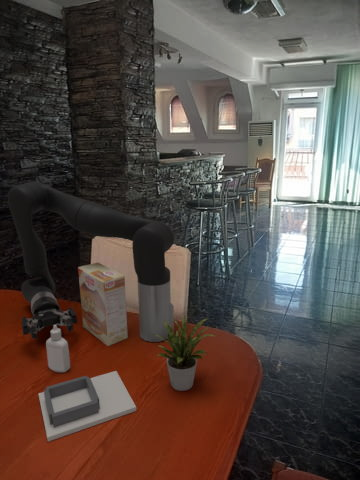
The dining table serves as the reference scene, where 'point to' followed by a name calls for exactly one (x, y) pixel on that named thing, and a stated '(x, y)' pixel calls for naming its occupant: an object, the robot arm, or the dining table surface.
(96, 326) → the coffeecake box
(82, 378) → the bottle holder
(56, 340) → the eye dropper bottle
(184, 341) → the house plant
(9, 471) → the dining table surface
